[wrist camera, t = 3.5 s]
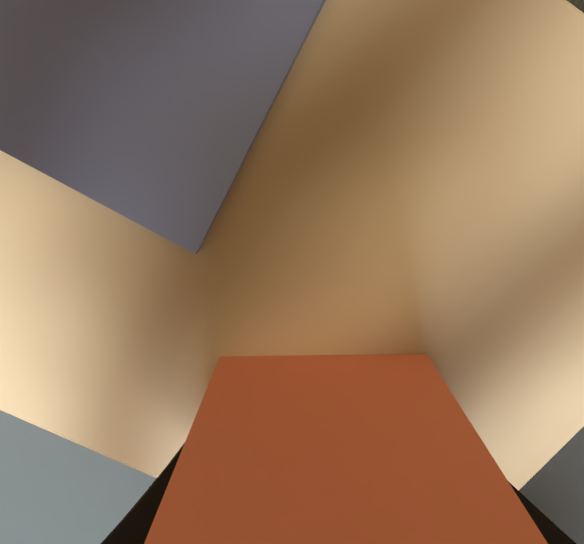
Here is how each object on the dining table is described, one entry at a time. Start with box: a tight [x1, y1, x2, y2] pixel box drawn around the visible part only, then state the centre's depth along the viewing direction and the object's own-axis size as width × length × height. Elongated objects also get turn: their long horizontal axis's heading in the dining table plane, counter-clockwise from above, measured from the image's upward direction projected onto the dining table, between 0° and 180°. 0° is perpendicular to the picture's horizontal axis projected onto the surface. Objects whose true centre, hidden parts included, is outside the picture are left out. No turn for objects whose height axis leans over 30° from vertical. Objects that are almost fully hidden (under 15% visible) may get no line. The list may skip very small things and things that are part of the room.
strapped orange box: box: [144, 354, 548, 544], centre depth 7 cm, size 5×5×5 cm
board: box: [0, 0, 584, 491], centre depth 7 cm, size 19×14×4 cm
